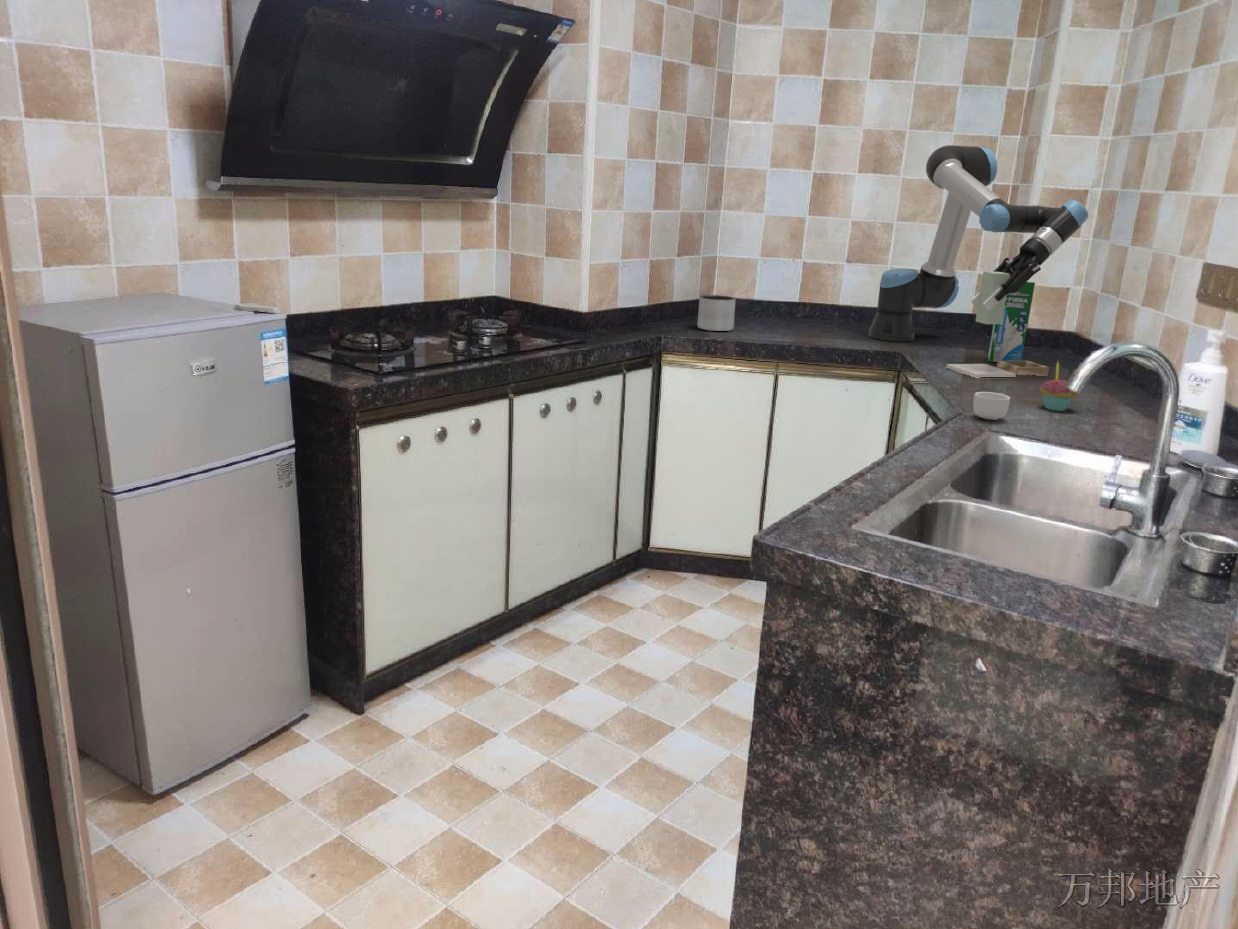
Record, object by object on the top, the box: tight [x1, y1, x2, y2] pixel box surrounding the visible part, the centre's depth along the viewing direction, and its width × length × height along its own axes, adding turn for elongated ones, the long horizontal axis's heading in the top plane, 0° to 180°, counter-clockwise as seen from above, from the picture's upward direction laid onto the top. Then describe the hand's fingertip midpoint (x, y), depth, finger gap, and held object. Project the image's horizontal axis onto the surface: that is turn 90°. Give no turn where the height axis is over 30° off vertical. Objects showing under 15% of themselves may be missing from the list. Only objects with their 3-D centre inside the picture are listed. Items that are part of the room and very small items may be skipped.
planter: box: [696, 294, 736, 332], centre depth 320 cm, size 12×13×11 cm
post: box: [975, 271, 1010, 325], centre depth 261 cm, size 5×5×14 cm
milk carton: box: [987, 281, 1036, 363], centre depth 283 cm, size 9×9×25 cm
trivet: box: [946, 363, 1017, 379], centre depth 267 cm, size 14×13×1 cm
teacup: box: [972, 391, 1011, 419], centre depth 215 cm, size 10×8×5 cm
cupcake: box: [1039, 360, 1078, 412], centre depth 226 cm, size 9×8×12 cm
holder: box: [995, 359, 1050, 377], centre depth 270 cm, size 10×10×2 cm
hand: (979, 305), depth 260 cm, fingers closed on post, 5 cm apart
